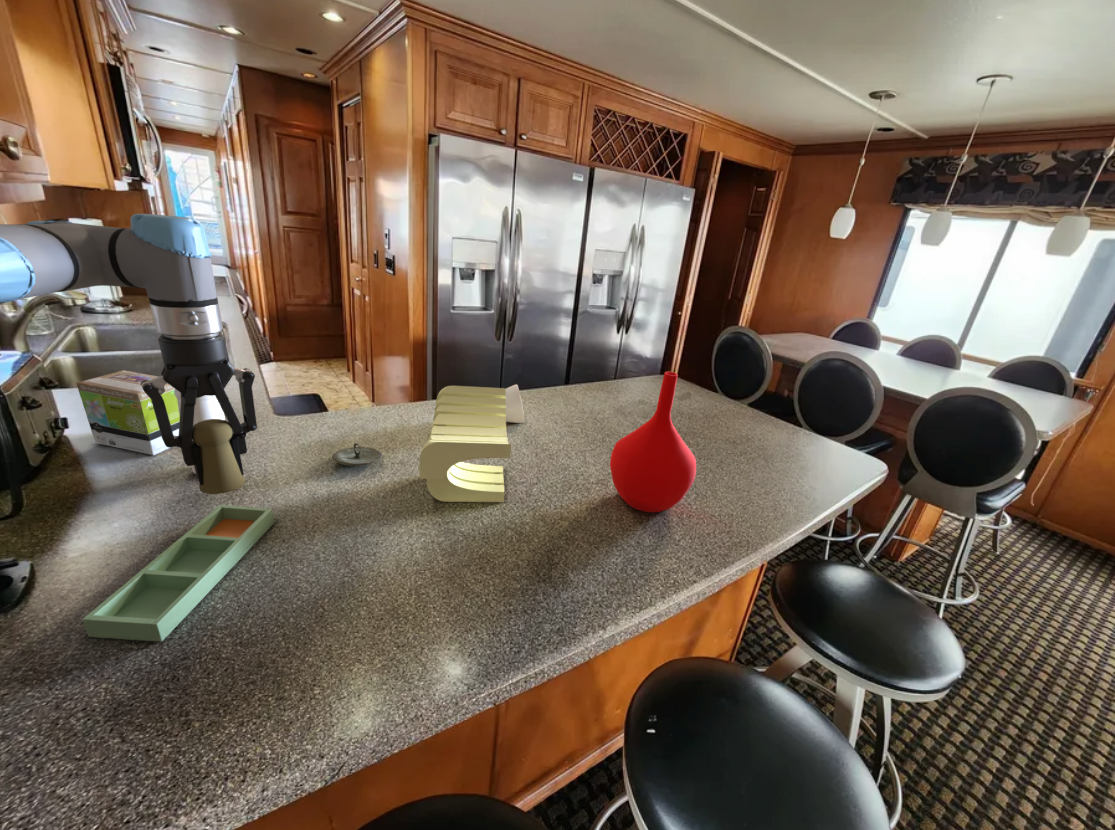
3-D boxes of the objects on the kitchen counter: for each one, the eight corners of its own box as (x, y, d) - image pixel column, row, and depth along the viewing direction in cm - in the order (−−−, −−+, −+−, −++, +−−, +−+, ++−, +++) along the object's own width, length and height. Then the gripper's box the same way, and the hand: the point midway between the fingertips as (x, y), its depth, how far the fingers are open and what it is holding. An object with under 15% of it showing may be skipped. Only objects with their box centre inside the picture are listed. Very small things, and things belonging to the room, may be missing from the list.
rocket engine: (453, 389, 128) (516, 378, 130) (458, 402, 139) (516, 392, 141) (460, 428, 125) (524, 416, 127) (464, 438, 136) (524, 427, 138)
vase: (595, 509, 97) (616, 375, 86) (615, 472, 113) (635, 355, 102) (682, 534, 92) (716, 396, 81) (690, 491, 108) (719, 371, 97)
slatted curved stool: (436, 452, 113) (436, 384, 106) (501, 454, 116) (505, 388, 109) (420, 526, 86) (419, 441, 79) (505, 526, 88) (511, 444, 82)
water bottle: (240, 468, 98) (219, 355, 88) (202, 481, 92) (175, 361, 83) (224, 457, 101) (202, 347, 92) (186, 469, 95) (158, 352, 86)
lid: (332, 479, 100) (331, 463, 97) (331, 449, 107) (331, 433, 104) (384, 475, 105) (384, 459, 102) (380, 447, 112) (380, 431, 109)
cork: (250, 485, 74) (239, 424, 70) (204, 498, 70) (190, 433, 66) (238, 471, 78) (227, 411, 74) (195, 482, 74) (180, 419, 70)
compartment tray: (88, 637, 58) (81, 619, 57) (223, 518, 82) (220, 504, 81) (161, 641, 59) (156, 624, 58) (274, 522, 83) (272, 508, 81)
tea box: (93, 445, 100) (73, 381, 95) (139, 427, 109) (123, 368, 104) (153, 456, 98) (136, 392, 93) (194, 438, 108) (182, 378, 102)
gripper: (110, 345, 57) (154, 505, 65) (268, 334, 68) (287, 470, 77) (105, 332, 61) (146, 483, 70) (254, 323, 73) (273, 453, 82)
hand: (220, 476), depth 74 cm, fingers closed on cork, 4 cm apart
